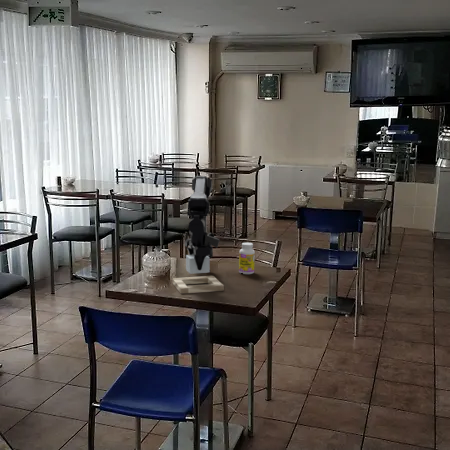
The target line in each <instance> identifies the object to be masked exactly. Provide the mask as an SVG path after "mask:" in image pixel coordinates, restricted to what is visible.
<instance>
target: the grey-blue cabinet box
mask: <svg viewBox="0 0 450 450" xmlns="http://www.w3.org/2000/svg"><path fill="white" fill-rule="evenodd" d="M210 259H211V258H210V257H209V256H206V257H205V259H204V262H203V265H202V269H201V270H198V268H197V265H196V262H195V259H194V256H193V255H190V254H185V270H186V271H187V273H188V274H190V275H191V274H206V273H210V272H211V269H210V264H211V263H210V261H211V260H210Z"/></svg>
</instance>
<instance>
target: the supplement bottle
mask: <svg viewBox="0 0 450 450" xmlns="http://www.w3.org/2000/svg"><path fill="white" fill-rule="evenodd" d="M241 247H242V248H241V249H239V252H238V253H239V254H238V255H239V256H238V257H239V258H238V272H239V274H241V273H243V275H252V274H254V273H255V261H256V259H255V258H256V257H255V254H256V252H255V250H254V248H253V247H254V244H253V243H252V242H242V243H241Z"/></svg>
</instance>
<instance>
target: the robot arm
mask: <svg viewBox="0 0 450 450" xmlns="http://www.w3.org/2000/svg"><path fill="white" fill-rule="evenodd" d="M191 190H192V191H193V193H192V194H191V195H190V198H189V199H188V200H187V213H186V214H187V217H188V216H189V217H190V221H189V223H188V233H189V235H190V238H186V239H185V241H184V246H185V247H186V250H187V251H188V255H193V256H194V259H195V262H196V265H197V268H198V270H201V269H202V265H203V262H204V259H205V257H206V256H209V257H210V259H211V258H213V257H214V254H213V253H214V248H213V247H215V248H218V246H219V244H220V241H221V240H220V239H219V238H217V236H215V234H214V233H212V232H209V233H208V232H207V221H208V220H207V219H208V218H207V217H208V216H209V214H210V205H211V204H210V202H209V200H208V199H209V197H210V196H211V192H213V180H212V179H210V178H208V176H205V175H197V176H195V177H194V178H192V179H191Z"/></svg>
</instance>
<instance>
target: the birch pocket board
mask: <svg viewBox="0 0 450 450" xmlns="http://www.w3.org/2000/svg"><path fill="white" fill-rule="evenodd" d="M171 281H172V285H173V287H174V288H176V290H177V291H178V292H179V294H194V293H209V292H222V291H223V292H224V289H225V288H224V287H225V286H224V284H223V283H222V282H220V281H219V280H218V279H217V278H216V277H215V276H214V275H202V276H190V277H189V276H187V277H174V278H172V280H171Z"/></svg>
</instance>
